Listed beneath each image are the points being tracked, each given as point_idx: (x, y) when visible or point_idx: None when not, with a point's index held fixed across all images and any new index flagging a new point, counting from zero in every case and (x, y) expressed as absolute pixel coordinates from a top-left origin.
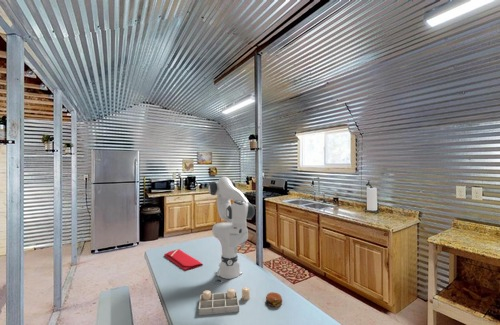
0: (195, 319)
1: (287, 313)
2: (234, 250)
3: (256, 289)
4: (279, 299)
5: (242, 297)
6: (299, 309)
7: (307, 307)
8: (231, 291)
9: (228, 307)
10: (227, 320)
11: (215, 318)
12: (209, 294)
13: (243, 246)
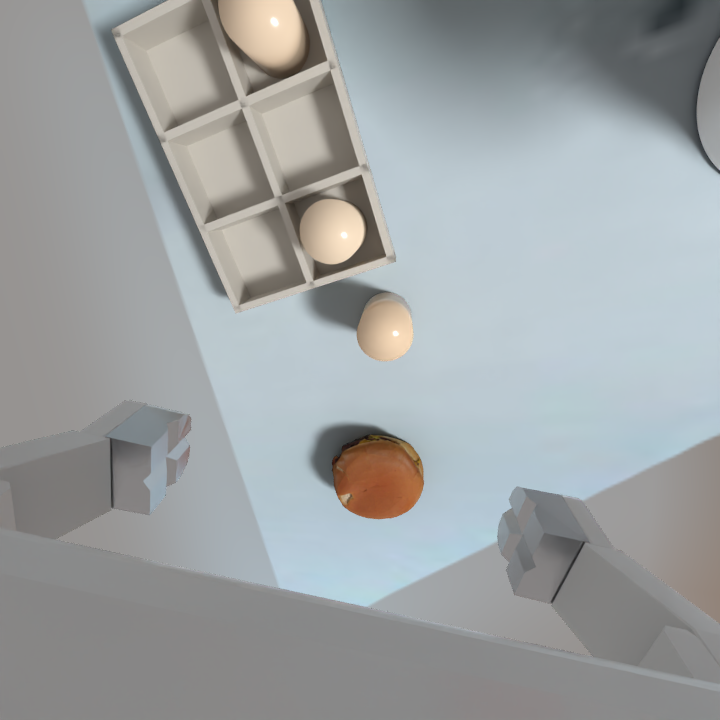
0: (106, 41)
1: (303, 518)
2: (84, 431)
3: (513, 365)
4: (352, 512)
5: (368, 303)
6: (344, 562)
7: (365, 590)
8: (317, 239)
9: (209, 247)
10: (168, 255)
11: (160, 178)
12: (244, 50)
13: (510, 577)
